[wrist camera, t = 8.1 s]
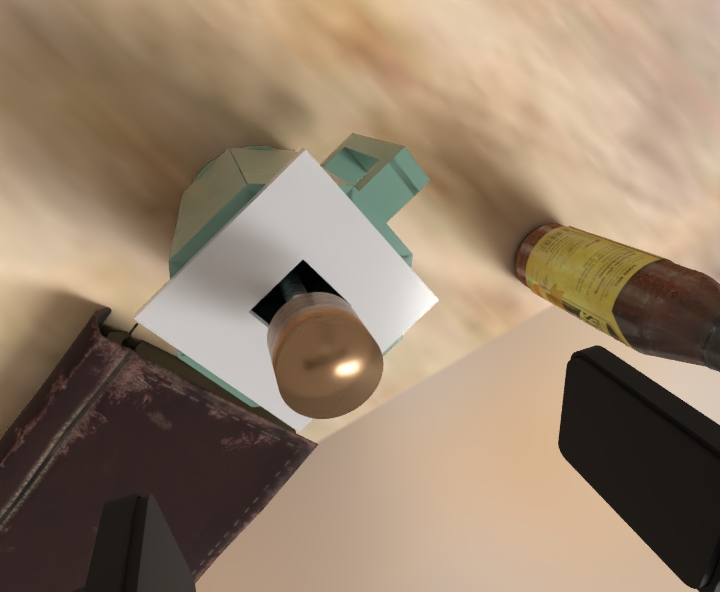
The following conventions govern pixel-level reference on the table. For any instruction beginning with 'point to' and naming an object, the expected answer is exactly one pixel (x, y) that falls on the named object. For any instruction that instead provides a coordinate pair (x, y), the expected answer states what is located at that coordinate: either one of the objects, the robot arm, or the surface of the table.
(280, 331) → the plunger
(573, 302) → the sauce bottle
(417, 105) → the table surface
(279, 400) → the press carafe
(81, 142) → the table surface
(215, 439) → the diary
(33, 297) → the table surface
